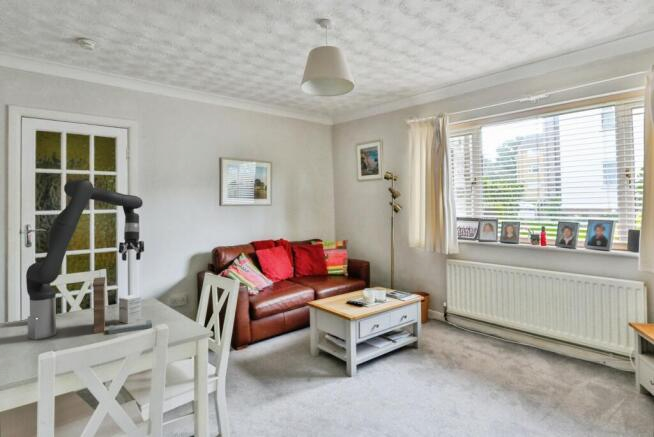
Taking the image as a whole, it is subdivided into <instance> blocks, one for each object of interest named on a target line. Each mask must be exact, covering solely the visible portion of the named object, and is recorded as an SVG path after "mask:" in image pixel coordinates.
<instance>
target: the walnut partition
mask: <svg viewBox="0 0 654 437" xmlns="http://www.w3.org/2000/svg"><path fill="white" fill-rule="evenodd" d="M91 286H92V289H93V292H92V293H93V298H92V299H93V334H94V335H96V334H103V333H105V330H106V329H105V328H106V290H105V288H106V287H105V286H106V276H103V277H99V276H98V277H94V278H93V282H92V284H91Z"/></svg>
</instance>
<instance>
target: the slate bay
mask: <svg viewBox="0 0 654 437" xmlns="http://www.w3.org/2000/svg"><path fill="white" fill-rule="evenodd" d="M148 328H149V329H152V328H153V321H152V320H151V319H149V320H146V323H140V324H134V325H126V326H120V327H115V324H111V325H108V335H114V334H122V333H128V332H134V331H135V332H136V331H141V330H142V331H143V330H149V329H148Z"/></svg>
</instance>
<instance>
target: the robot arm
mask: <svg viewBox="0 0 654 437" xmlns="http://www.w3.org/2000/svg"><path fill="white" fill-rule="evenodd" d="M63 192H64V193H65V195H66V196H67V197H70V201H69V202H68V204H67V206H65V208H64V209H63V210H62V211H61V212H60V213H59V214H58V215H57V216H55V218H54V220H53V222H52V224H51V226H50V229H49V231H48V234H47V243H48V244H47V246H48V248H47V252H46V255H45V257H44V259H43V262H40V261H39V262H38V261H37V262H34V263H32V264H31V265H29V266H28V268H27V270H26V275H25V279H26V280H25V282H26V292H27V294H28V296H29V316H27V338H28V339H31V340H40V339H42V340H43V339H47V338H50V337H53V336H55V335H56V334H57V310H56V309H57V306H56V305H57V299H56V294H57V293H56V290H55V289H54V288H53V287H52V285H51V284H52V283H54V282H55V281H56V280H57V279H58V277H59V275H60V273H61V269H62V265H63V262H64V258H65V256H66V253H67V250H68V248H69V246H70V243H71V240H72V238H73V236H74V234H75V232H76V229H77V226H78V224H79V222H80V219H81V218H82V215H83V212H84V211H85V208H86V206H87V204H88V203H89V201H90V200H91V201H92V200H93V201H97V202H100V203H105V204H109V205H114V206H116V207H117V206H118V207H122V209H123V213H124V217H125V218H124V228H123V230H124V233H123V240H124V242H119V245H118V253H119V254H121V260H122V262H125V261H127V253H128V252H129V251H130V250H134V251H135V253H136V254H135V260H136V261H139V260H140V259H141V255H142V254H141V253H144V252H145V242H144V241H143V240H140V215H139V213H136V212H135V211H134V210H136V209H140V208H142V206H143V200H142V198H141V197H139V196H137V195H132V194H126V193H125V194H123V193H121V192H117V191H114V190H107V189H101V188H96V187H94V184H93V183H92V181H90V180H88V179H71V180H69V181H67V182H66V183H65V184H64V186H63Z"/></svg>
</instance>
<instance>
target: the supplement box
mask: <svg viewBox="0 0 654 437" xmlns="http://www.w3.org/2000/svg"><path fill="white" fill-rule="evenodd" d="M141 298H142V297H141V296H140V295H135V294H129V295H125V296H121V297H120V296H119V297H118V321H119V323H120V322H121V323H123V324H126V325H130V324H132V323H133V324H134V323H136V322H140V321H141V319H142V318H141V317H142V315H141V310H142V309H141V308H142V306H141V302H142V301H141Z"/></svg>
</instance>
